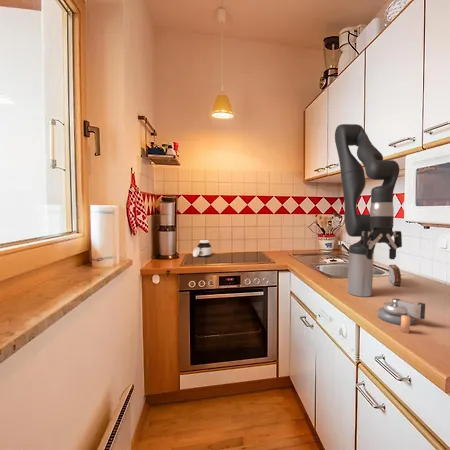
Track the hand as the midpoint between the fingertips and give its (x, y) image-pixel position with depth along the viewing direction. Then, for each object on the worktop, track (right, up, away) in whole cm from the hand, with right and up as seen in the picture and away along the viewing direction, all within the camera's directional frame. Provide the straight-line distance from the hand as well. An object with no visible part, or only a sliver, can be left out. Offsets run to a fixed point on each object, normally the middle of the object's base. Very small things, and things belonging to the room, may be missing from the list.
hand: (380, 259), depth 101 cm
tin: (+24, -16, +30) cm, 41 cm away
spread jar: (-74, -11, +98) cm, 124 cm away
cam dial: (0, -16, -13) cm, 21 cm away
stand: (-2, -18, -14) cm, 23 cm away
